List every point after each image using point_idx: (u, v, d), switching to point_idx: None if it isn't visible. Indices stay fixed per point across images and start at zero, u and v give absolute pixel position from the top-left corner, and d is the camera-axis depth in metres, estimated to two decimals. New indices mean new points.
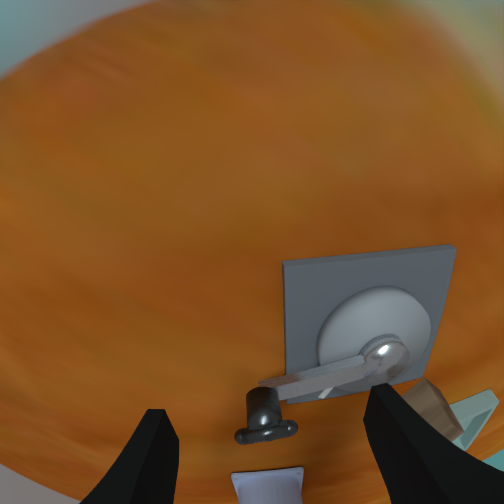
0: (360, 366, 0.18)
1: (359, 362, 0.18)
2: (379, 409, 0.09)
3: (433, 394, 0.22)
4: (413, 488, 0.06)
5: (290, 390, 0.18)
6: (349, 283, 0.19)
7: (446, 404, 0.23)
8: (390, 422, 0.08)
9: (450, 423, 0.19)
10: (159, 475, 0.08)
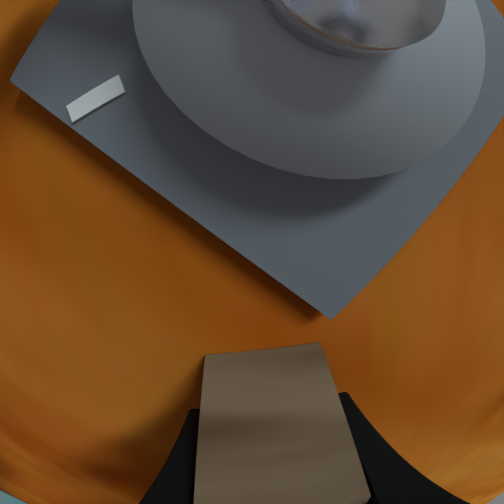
0: None
1: None
2: None
3: (332, 389, 0.09)
4: None
5: None
6: None
7: None
8: None
9: (365, 493, 0.05)
10: None
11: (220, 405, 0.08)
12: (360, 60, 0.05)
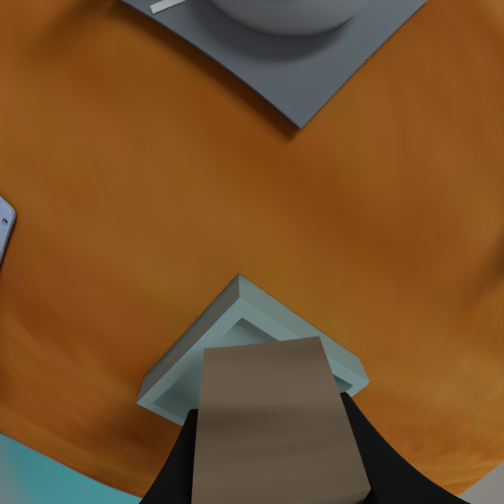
0: None
1: None
2: None
3: (332, 382, 0.09)
4: None
5: None
6: None
7: None
8: None
9: (365, 485, 0.05)
10: None
11: (219, 397, 0.08)
12: None
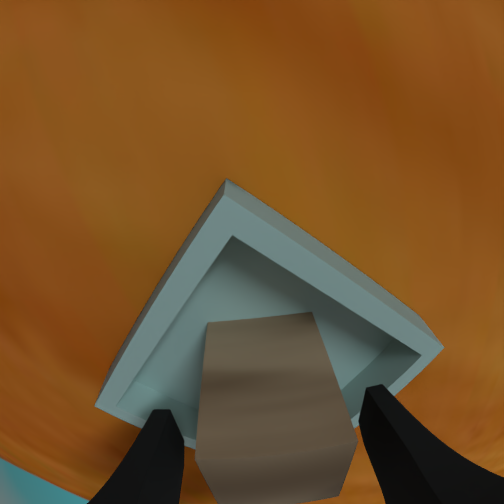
0: None
1: None
2: (373, 410, 0.09)
3: (322, 349, 0.10)
4: (406, 490, 0.06)
5: None
6: None
7: None
8: (384, 424, 0.08)
9: (353, 438, 0.07)
10: (165, 475, 0.08)
11: (221, 362, 0.10)
12: None
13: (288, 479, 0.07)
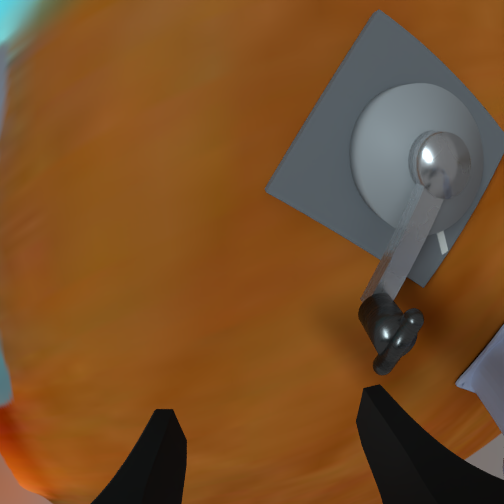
0: (425, 194, 0.13)
1: (420, 191, 0.13)
2: (371, 411, 0.09)
3: None
4: (404, 491, 0.06)
5: (392, 280, 0.15)
6: (333, 140, 0.15)
7: None
8: (381, 424, 0.08)
9: None
10: (168, 476, 0.08)
11: None
12: None
13: None
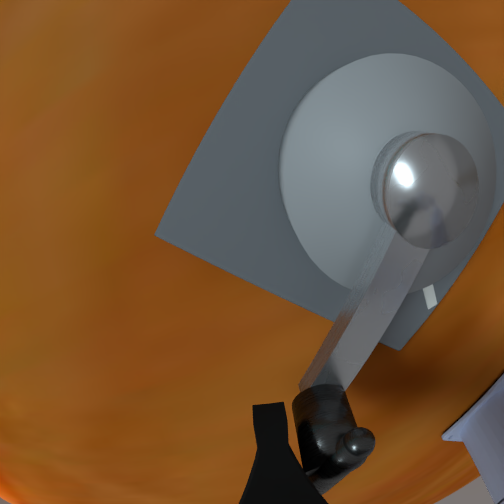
0: (397, 243, 0.08)
1: (389, 238, 0.08)
2: (254, 430, 0.09)
3: None
4: None
5: (341, 368, 0.10)
6: (250, 153, 0.10)
7: None
8: (257, 446, 0.08)
9: None
10: None
11: None
12: None
13: None
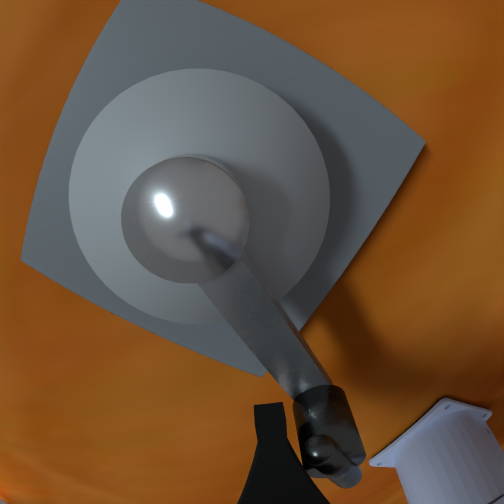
0: (208, 283, 0.08)
1: None
2: None
3: None
4: None
5: (297, 377, 0.10)
6: (69, 192, 0.10)
7: None
8: None
9: None
10: None
11: None
12: (241, 184, 0.09)
13: None
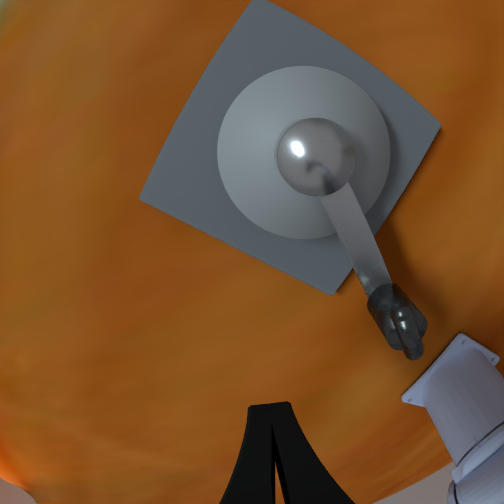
0: (326, 198, 0.13)
1: (321, 200, 0.13)
2: (272, 429, 0.09)
3: None
4: None
5: (373, 274, 0.14)
6: (200, 142, 0.14)
7: None
8: (276, 444, 0.08)
9: None
10: (273, 473, 0.08)
11: None
12: None
13: None
